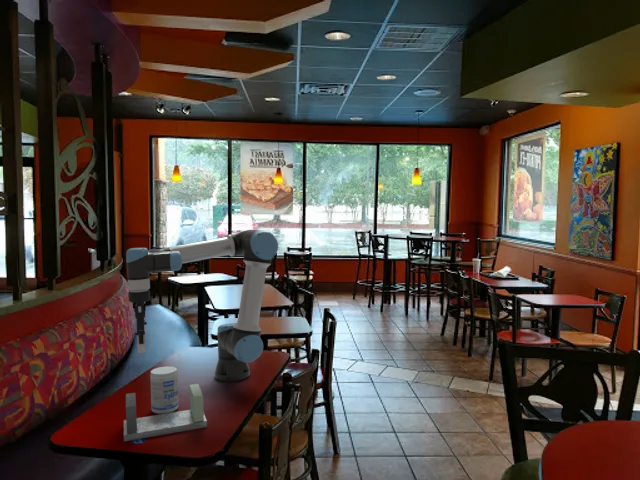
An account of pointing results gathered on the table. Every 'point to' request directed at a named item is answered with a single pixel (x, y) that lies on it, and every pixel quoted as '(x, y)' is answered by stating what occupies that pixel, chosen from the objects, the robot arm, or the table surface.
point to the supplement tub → (164, 390)
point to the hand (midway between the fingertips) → (142, 347)
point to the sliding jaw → (196, 403)
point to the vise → (156, 422)
